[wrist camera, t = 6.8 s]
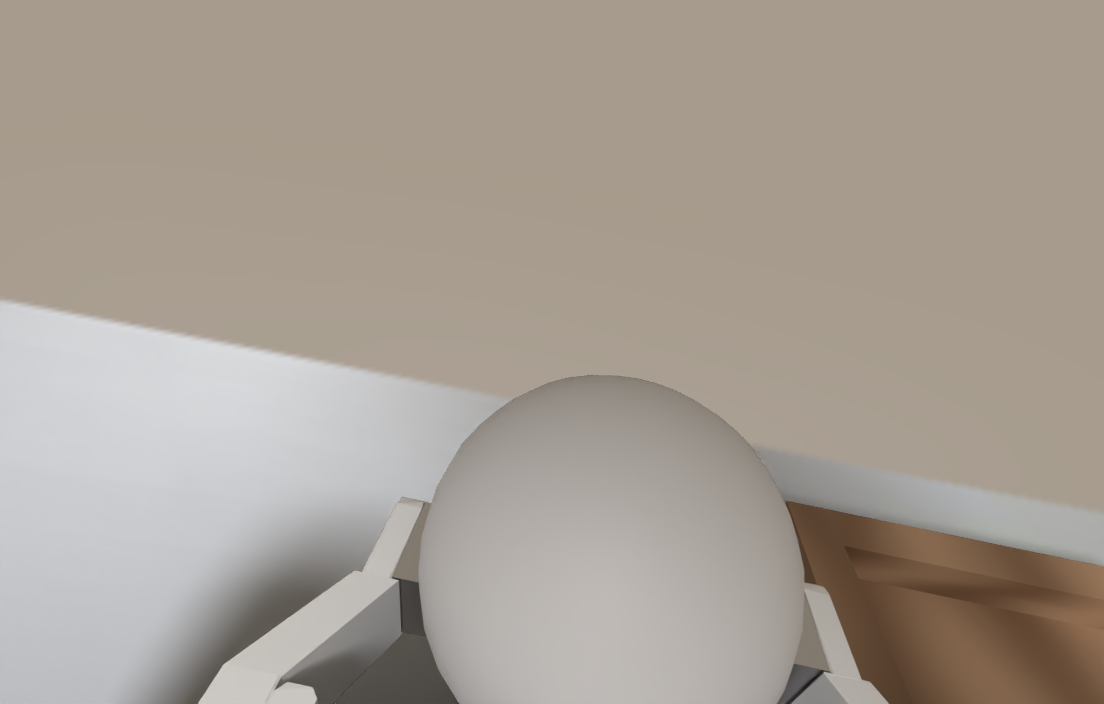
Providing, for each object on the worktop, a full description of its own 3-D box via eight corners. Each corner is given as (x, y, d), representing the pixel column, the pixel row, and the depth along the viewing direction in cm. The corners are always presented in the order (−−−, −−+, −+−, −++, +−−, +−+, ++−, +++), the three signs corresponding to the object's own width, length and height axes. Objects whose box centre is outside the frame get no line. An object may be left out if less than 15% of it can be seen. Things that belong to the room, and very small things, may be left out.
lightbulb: (591, 585, 16) (682, 295, 10) (711, 811, 12) (1008, 538, 6) (406, 659, 13) (375, 331, 7) (469, 986, 9) (521, 837, 3)
